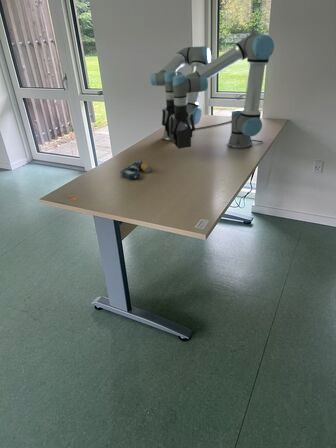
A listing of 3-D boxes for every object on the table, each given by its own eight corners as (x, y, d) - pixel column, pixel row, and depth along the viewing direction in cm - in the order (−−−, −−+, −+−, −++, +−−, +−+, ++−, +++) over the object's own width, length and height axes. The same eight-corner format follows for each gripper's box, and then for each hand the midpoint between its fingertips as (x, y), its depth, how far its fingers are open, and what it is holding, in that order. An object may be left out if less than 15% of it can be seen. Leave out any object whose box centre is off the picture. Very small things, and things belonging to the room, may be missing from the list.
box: (167, 136, 223) (166, 120, 217) (179, 134, 224) (178, 118, 218) (178, 148, 199) (177, 131, 194) (191, 146, 201) (190, 129, 195)
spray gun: (156, 167, 200) (135, 165, 206) (156, 160, 198) (134, 158, 204) (139, 182, 185) (117, 179, 191) (138, 174, 183) (115, 172, 189)
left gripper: (157, 101, 203) (160, 138, 215) (189, 97, 206) (191, 134, 218) (154, 99, 209) (157, 135, 221) (186, 95, 212) (188, 131, 224)
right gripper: (164, 108, 186) (167, 148, 197) (200, 103, 189) (201, 142, 201) (161, 105, 192) (164, 144, 204) (196, 101, 195) (197, 139, 207)
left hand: (174, 134), depth 219 cm, fingers closed on box, 8 cm apart
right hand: (183, 143), depth 202 cm, fingers closed on box, 8 cm apart
